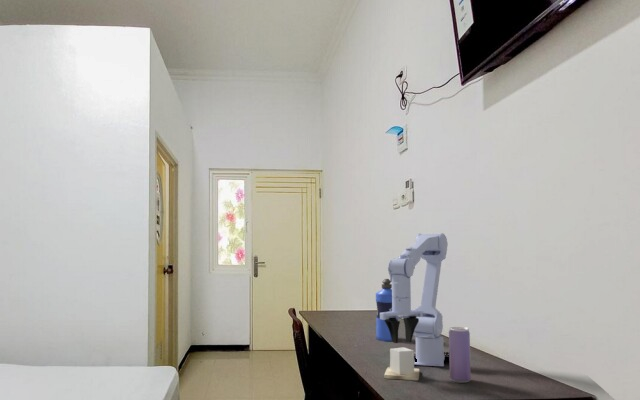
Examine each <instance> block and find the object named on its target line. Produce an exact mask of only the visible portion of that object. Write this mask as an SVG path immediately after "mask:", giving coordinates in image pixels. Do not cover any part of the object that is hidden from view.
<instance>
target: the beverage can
mask: <svg viewBox="0 0 640 400" xmlns="http://www.w3.org/2000/svg"><path fill="white" fill-rule="evenodd" d="M470 335H471V333H470V329H469V328H468V327H464V326H463V327H462V326H453V327H449V331H448V353H449V355H448V356H449V358H448V359H449V360H448V361H449V365H448V366H449V380H451V382H455V383H457V384H458V383H459V384H464V383H465V384H466V383H469V382H470V381H471V377H472V373H471V370H472V369H471V368H472V366H471V336H470Z"/></svg>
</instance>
